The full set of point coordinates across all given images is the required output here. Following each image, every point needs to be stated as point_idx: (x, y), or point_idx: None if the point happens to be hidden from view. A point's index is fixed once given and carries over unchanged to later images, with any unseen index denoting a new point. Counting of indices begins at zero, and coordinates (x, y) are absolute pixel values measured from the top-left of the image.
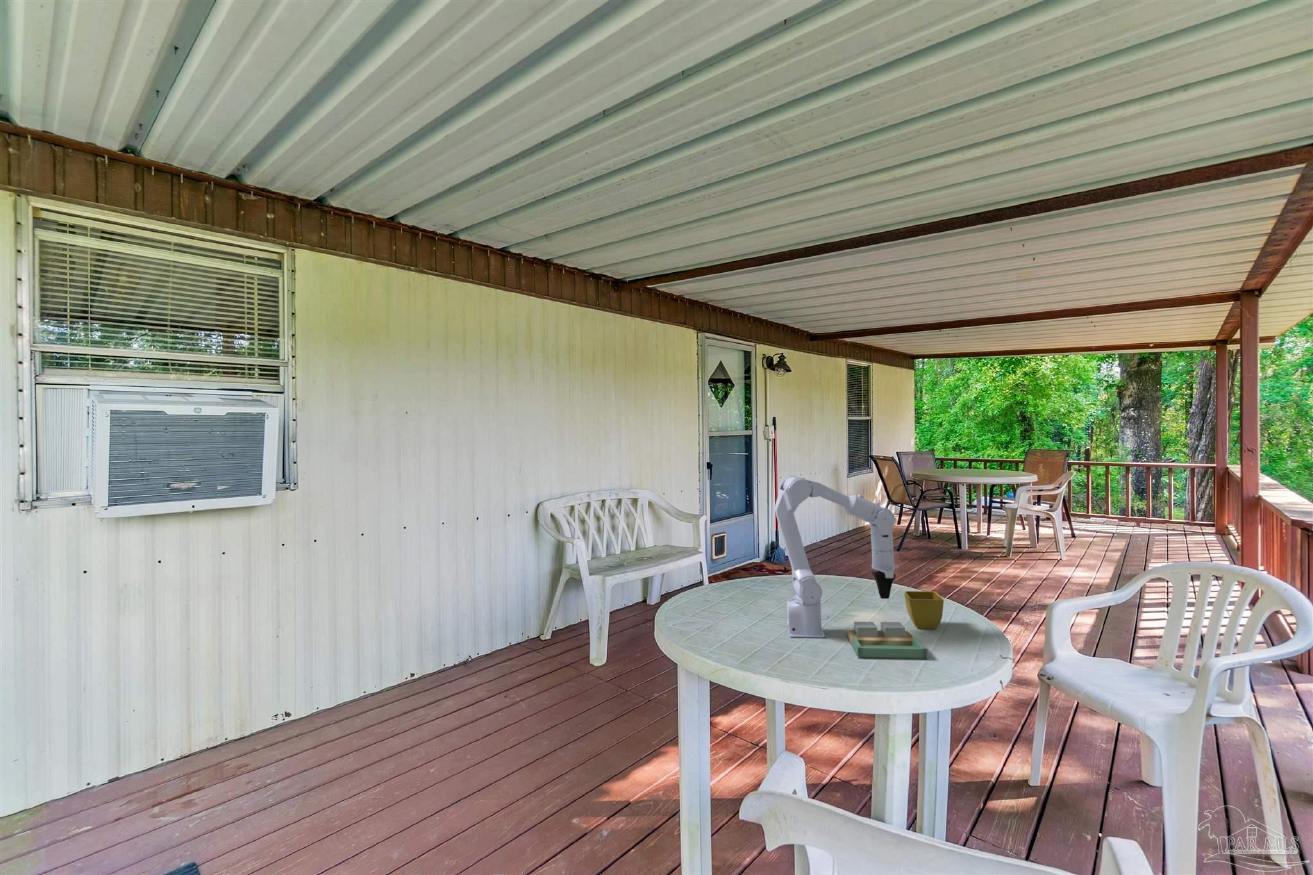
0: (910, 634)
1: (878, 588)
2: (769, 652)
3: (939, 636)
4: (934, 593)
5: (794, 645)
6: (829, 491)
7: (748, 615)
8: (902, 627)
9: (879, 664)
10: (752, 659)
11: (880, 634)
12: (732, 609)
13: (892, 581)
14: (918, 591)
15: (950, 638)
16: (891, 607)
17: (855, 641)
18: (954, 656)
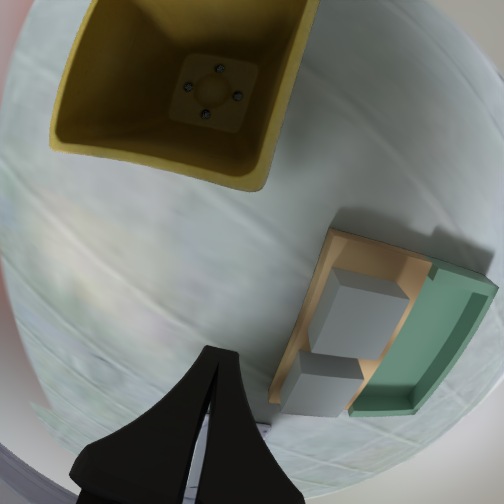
0: (376, 247)
1: (199, 432)
2: (314, 474)
3: (351, 104)
4: None
5: (297, 457)
6: None
7: None
8: (402, 306)
9: (448, 373)
10: (331, 481)
11: None
12: None
13: (275, 464)
14: (74, 54)
15: (378, 82)
16: (15, 140)
17: (381, 414)
18: (495, 193)
